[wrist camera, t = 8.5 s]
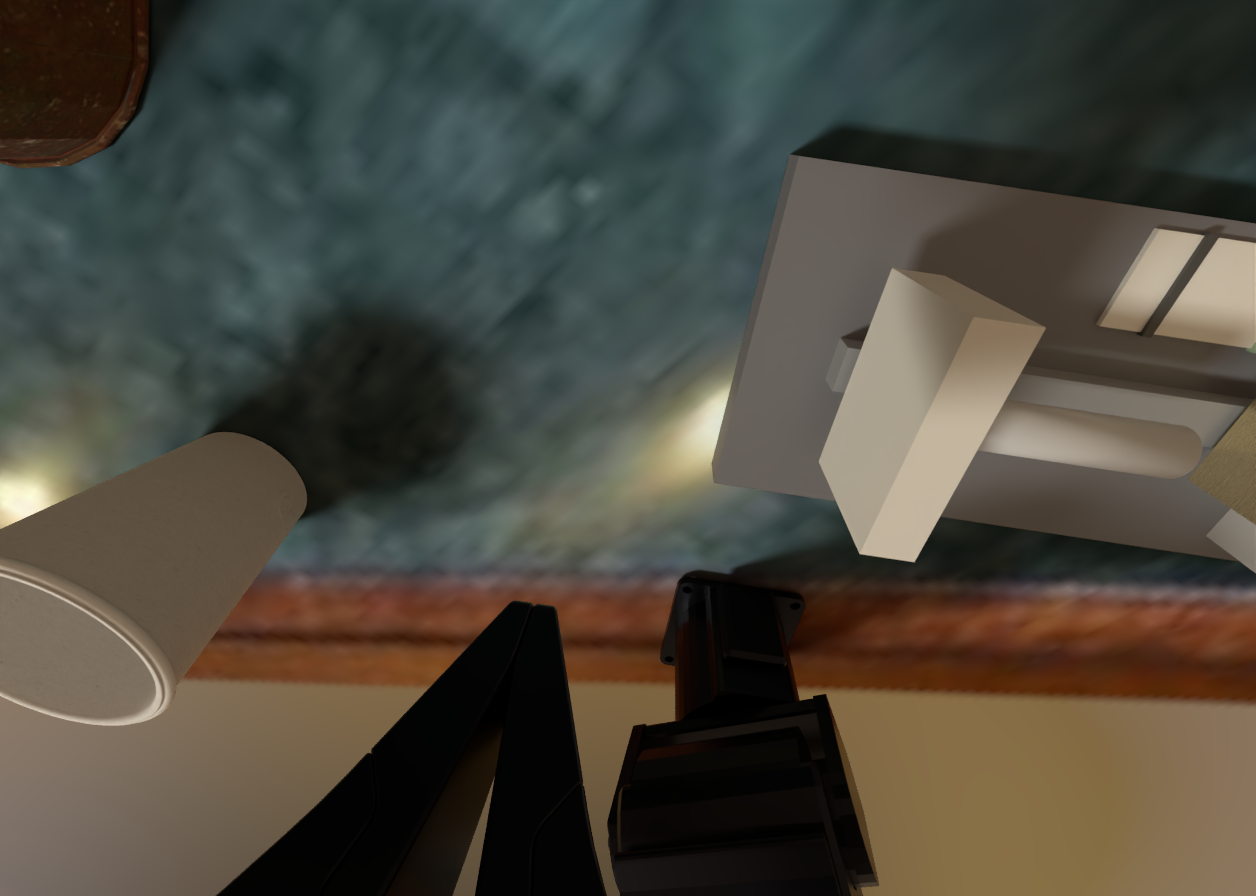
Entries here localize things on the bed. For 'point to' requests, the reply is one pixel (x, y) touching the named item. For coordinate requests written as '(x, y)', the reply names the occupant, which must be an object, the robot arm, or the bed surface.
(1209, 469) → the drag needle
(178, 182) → the bed surface
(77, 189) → the bed surface
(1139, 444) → the plunger
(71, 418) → the bed surface
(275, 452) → the dixie cup
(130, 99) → the oil lamp
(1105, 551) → the bed surface
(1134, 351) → the base
